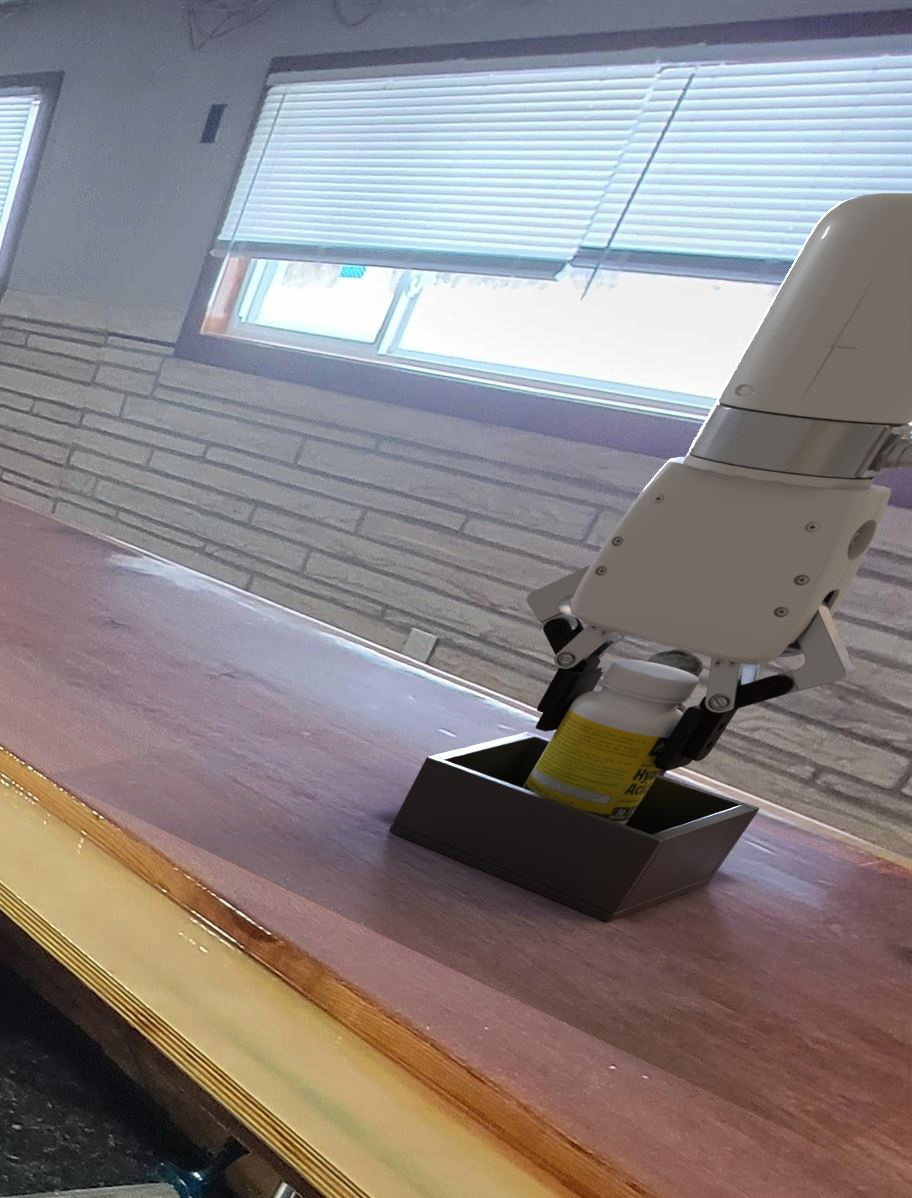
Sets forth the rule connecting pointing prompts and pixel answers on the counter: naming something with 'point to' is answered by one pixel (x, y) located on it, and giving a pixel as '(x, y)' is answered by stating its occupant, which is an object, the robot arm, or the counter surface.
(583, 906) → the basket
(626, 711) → the supplement bottle
